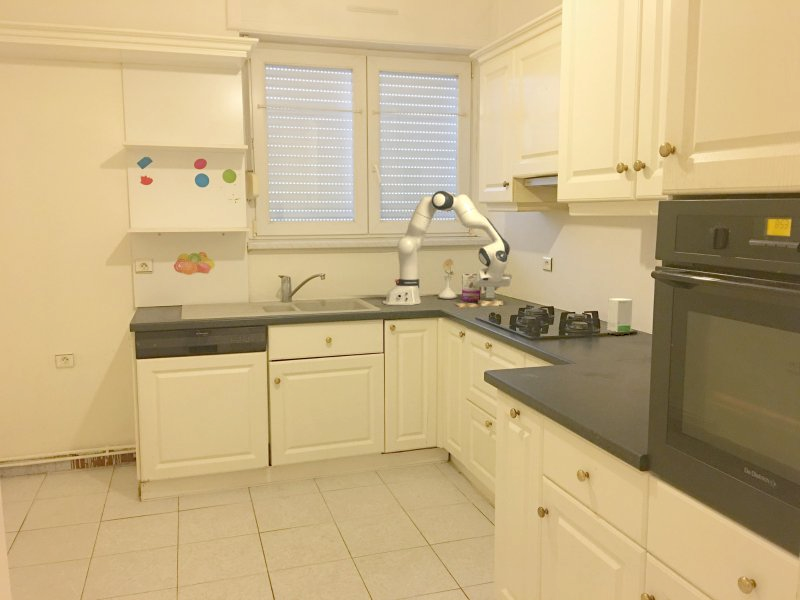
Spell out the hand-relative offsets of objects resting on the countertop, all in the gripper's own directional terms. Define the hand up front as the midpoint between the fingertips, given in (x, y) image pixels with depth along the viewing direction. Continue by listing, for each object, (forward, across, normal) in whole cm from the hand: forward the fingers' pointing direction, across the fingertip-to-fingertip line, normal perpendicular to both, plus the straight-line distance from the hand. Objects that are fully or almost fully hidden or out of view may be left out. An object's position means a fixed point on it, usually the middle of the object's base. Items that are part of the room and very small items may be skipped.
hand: (489, 289), depth 382 cm
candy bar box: (+19, +6, -6) cm, 21 cm away
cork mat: (+5, +14, +8) cm, 16 cm away
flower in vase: (+27, +18, -14) cm, 35 cm away
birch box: (+6, 0, +7) cm, 9 cm away
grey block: (+3, 0, +4) cm, 4 cm away
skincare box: (-65, -30, +76) cm, 104 cm away
